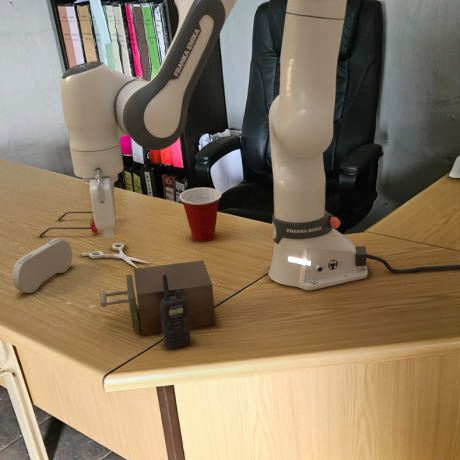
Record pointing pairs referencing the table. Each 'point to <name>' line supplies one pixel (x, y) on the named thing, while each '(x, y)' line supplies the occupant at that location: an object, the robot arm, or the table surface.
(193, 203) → the plastic cup
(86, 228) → the glasses
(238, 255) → the table surface
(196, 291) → the cabinet
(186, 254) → the table surface
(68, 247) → the game controller
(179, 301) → the two-way radio
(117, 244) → the scissors
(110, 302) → the drawer
